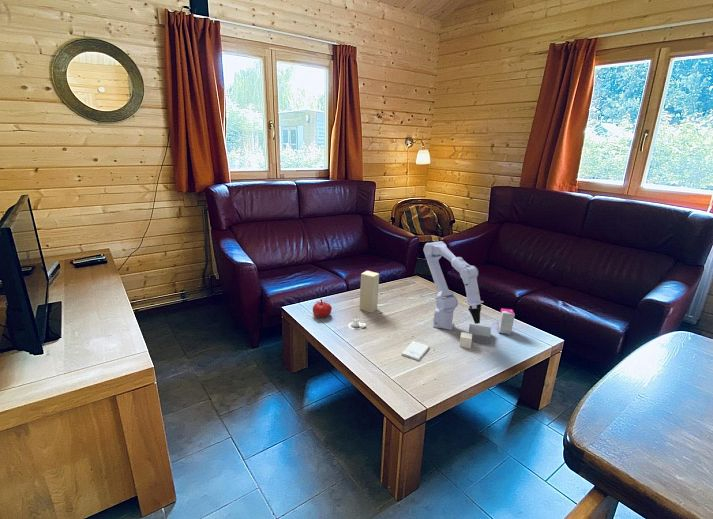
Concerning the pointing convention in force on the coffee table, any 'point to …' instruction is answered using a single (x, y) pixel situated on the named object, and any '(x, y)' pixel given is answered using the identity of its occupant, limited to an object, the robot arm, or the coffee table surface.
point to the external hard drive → (415, 350)
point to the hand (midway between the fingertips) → (477, 321)
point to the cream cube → (465, 340)
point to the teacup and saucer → (356, 323)
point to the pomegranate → (321, 309)
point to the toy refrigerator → (369, 291)
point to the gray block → (480, 333)
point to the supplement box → (506, 321)
